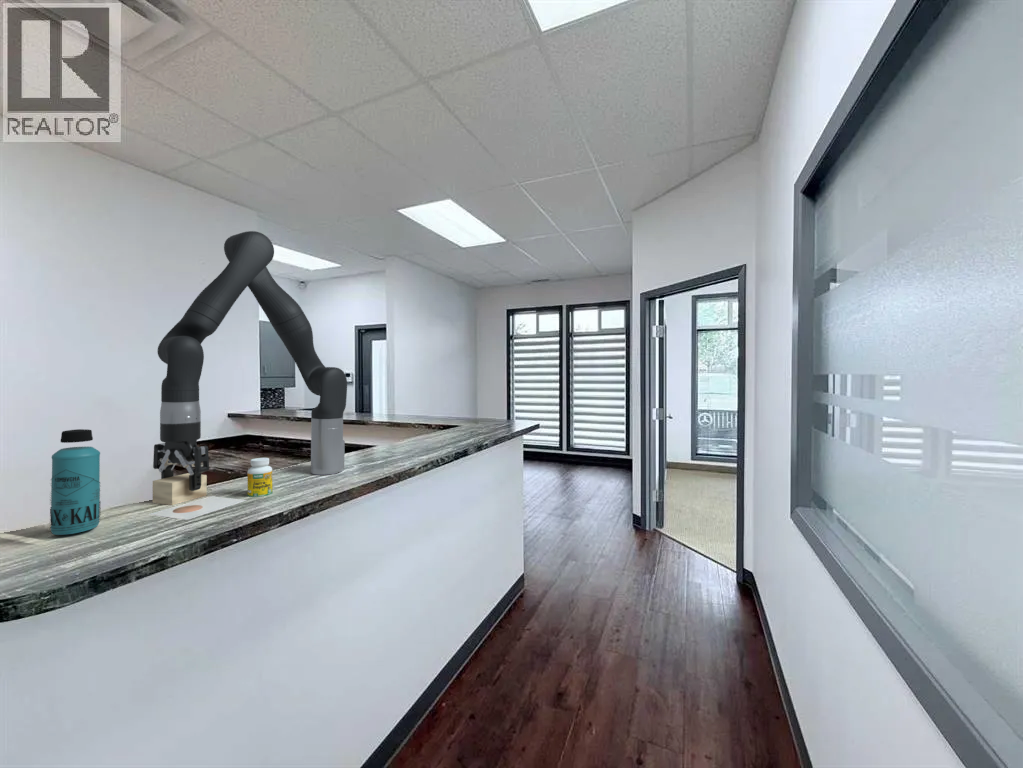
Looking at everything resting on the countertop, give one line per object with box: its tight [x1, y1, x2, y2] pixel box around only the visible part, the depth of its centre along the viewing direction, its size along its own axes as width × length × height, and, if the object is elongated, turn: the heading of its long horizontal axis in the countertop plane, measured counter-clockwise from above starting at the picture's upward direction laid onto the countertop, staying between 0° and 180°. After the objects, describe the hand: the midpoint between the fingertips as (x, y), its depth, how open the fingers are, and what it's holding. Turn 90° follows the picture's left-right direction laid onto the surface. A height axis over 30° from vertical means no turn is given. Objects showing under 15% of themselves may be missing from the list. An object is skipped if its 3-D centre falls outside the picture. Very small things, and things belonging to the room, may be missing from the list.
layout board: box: [148, 495, 248, 521], centre depth 92 cm, size 14×11×1 cm
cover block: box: [152, 472, 208, 506], centre depth 98 cm, size 8×6×6 cm
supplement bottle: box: [246, 457, 273, 498], centre depth 103 cm, size 5×5×10 cm
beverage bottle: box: [49, 428, 102, 536], centre depth 77 cm, size 6×7×20 cm
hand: (181, 488), depth 98 cm, fingers open, 8 cm apart
